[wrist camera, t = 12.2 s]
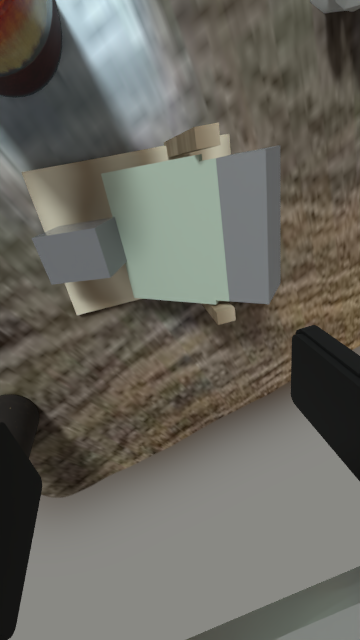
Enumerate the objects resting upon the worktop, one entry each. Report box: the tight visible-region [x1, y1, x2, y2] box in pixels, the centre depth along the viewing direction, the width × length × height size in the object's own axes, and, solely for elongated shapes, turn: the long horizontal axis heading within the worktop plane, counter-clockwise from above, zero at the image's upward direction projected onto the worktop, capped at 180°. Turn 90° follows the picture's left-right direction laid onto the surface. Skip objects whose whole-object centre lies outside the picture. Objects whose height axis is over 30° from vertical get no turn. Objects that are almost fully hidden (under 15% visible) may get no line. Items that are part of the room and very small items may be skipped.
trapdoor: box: [101, 146, 280, 305], centre depth 30 cm, size 16×14×5 cm
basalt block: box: [32, 217, 127, 284], centre depth 31 cm, size 5×5×7 cm
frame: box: [22, 123, 236, 325], centre depth 31 cm, size 23×18×12 cm
